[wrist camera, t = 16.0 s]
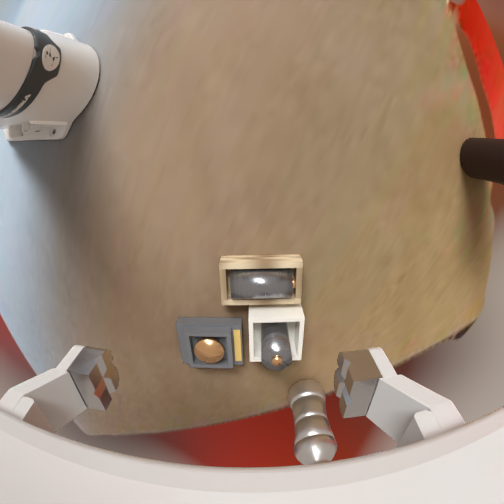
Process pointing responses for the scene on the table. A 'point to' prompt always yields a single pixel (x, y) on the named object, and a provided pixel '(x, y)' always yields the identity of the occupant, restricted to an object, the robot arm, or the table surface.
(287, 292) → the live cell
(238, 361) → the cradle
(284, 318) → the white square box
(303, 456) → the plastic bottle
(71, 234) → the table surface
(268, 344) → the cylinder
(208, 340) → the copper disc
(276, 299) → the trough
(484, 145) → the vinegar
